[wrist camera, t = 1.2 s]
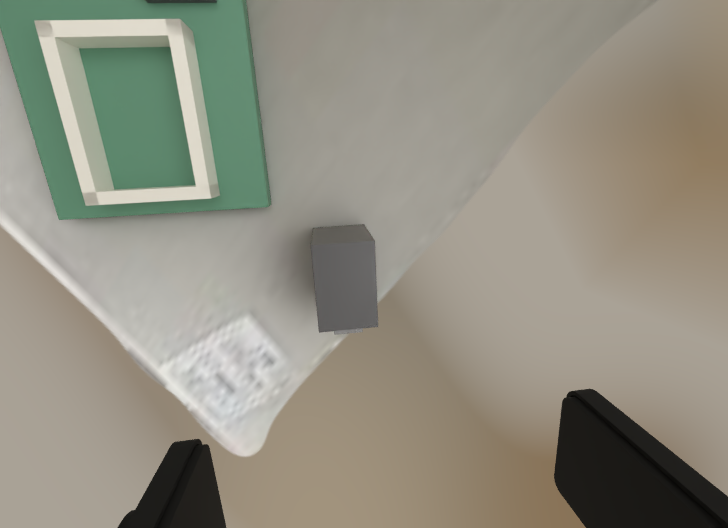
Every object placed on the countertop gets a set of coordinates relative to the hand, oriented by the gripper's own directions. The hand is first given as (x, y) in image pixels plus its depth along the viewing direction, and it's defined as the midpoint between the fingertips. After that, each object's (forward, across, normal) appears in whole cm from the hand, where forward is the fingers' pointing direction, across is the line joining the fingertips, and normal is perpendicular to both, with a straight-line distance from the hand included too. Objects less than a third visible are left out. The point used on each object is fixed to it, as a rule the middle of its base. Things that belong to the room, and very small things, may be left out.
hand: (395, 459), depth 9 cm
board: (+20, +12, -14) cm, 27 cm away
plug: (+20, 0, 0) cm, 20 cm away
